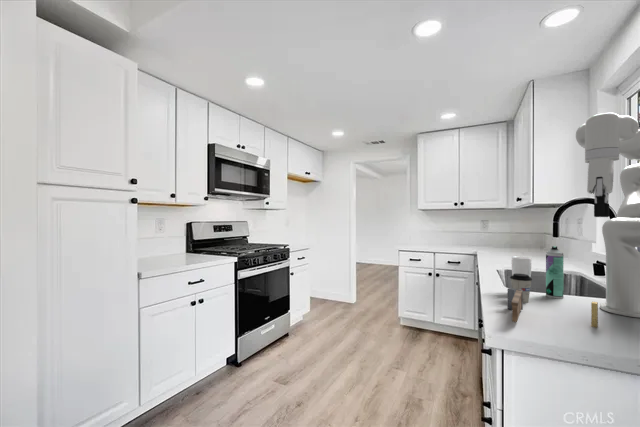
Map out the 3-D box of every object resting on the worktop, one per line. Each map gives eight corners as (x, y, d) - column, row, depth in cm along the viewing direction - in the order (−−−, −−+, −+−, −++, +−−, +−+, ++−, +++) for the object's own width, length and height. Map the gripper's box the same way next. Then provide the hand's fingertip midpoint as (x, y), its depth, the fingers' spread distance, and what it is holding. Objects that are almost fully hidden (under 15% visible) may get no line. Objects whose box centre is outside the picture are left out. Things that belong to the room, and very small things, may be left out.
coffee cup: (505, 299, 115) (505, 273, 115) (519, 297, 117) (519, 272, 117) (522, 304, 108) (522, 277, 108) (536, 303, 110) (536, 276, 110)
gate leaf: (516, 307, 103) (516, 288, 103) (522, 308, 102) (522, 289, 102) (510, 324, 88) (510, 301, 88) (518, 325, 87) (518, 302, 87)
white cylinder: (534, 296, 119) (534, 258, 119) (515, 295, 120) (515, 258, 120) (526, 292, 126) (526, 256, 126) (508, 291, 127) (508, 256, 127)
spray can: (558, 295, 121) (558, 245, 121) (566, 299, 115) (566, 247, 115) (543, 294, 122) (543, 245, 122) (550, 298, 117) (550, 247, 117)
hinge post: (509, 307, 105) (509, 287, 105) (515, 309, 104) (515, 288, 104) (507, 308, 104) (507, 288, 104) (514, 310, 102) (514, 289, 102)
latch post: (592, 325, 89) (592, 301, 89) (597, 326, 88) (597, 302, 88) (591, 326, 87) (591, 302, 87) (596, 327, 87) (596, 303, 87)
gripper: (588, 160, 98) (588, 216, 98) (580, 154, 88) (580, 217, 88) (621, 157, 92) (621, 216, 92) (616, 150, 82) (616, 217, 82)
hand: (601, 216), depth 90 cm, fingers closed
